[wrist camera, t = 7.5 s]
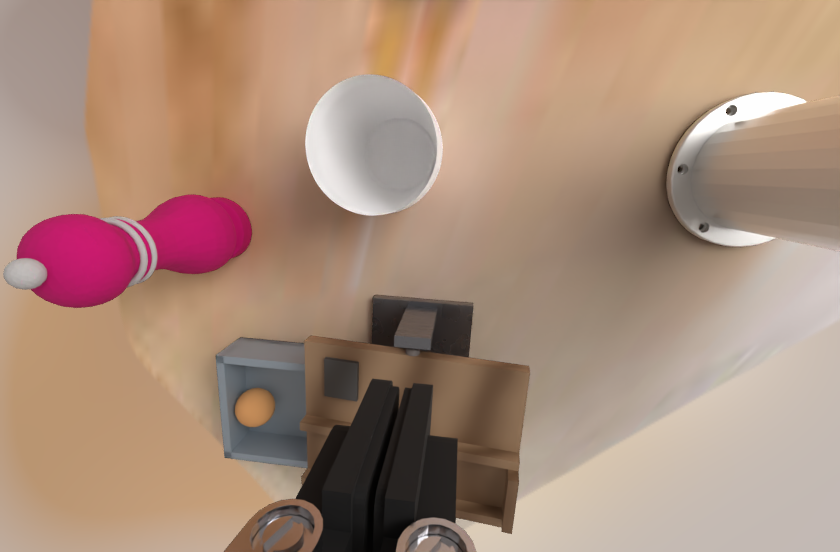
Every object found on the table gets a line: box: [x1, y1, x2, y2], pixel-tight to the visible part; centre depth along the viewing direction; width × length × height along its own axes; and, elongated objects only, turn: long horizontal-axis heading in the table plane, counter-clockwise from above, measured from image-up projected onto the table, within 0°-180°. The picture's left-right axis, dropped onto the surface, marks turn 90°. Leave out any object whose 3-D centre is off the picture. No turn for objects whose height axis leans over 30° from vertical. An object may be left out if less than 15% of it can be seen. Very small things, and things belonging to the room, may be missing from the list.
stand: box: [372, 295, 473, 358], centre depth 39 cm, size 10×18×9 cm, turn 177°
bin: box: [216, 337, 308, 468], centre depth 43 cm, size 13×12×4 cm
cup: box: [305, 74, 443, 216], centre depth 31 cm, size 9×9×12 cm
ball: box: [235, 388, 275, 427], centre depth 43 cm, size 4×4×4 cm
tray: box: [300, 336, 530, 534], centre depth 34 cm, size 19×15×4 cm
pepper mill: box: [3, 195, 252, 308], centre depth 31 cm, size 7×7×20 cm
